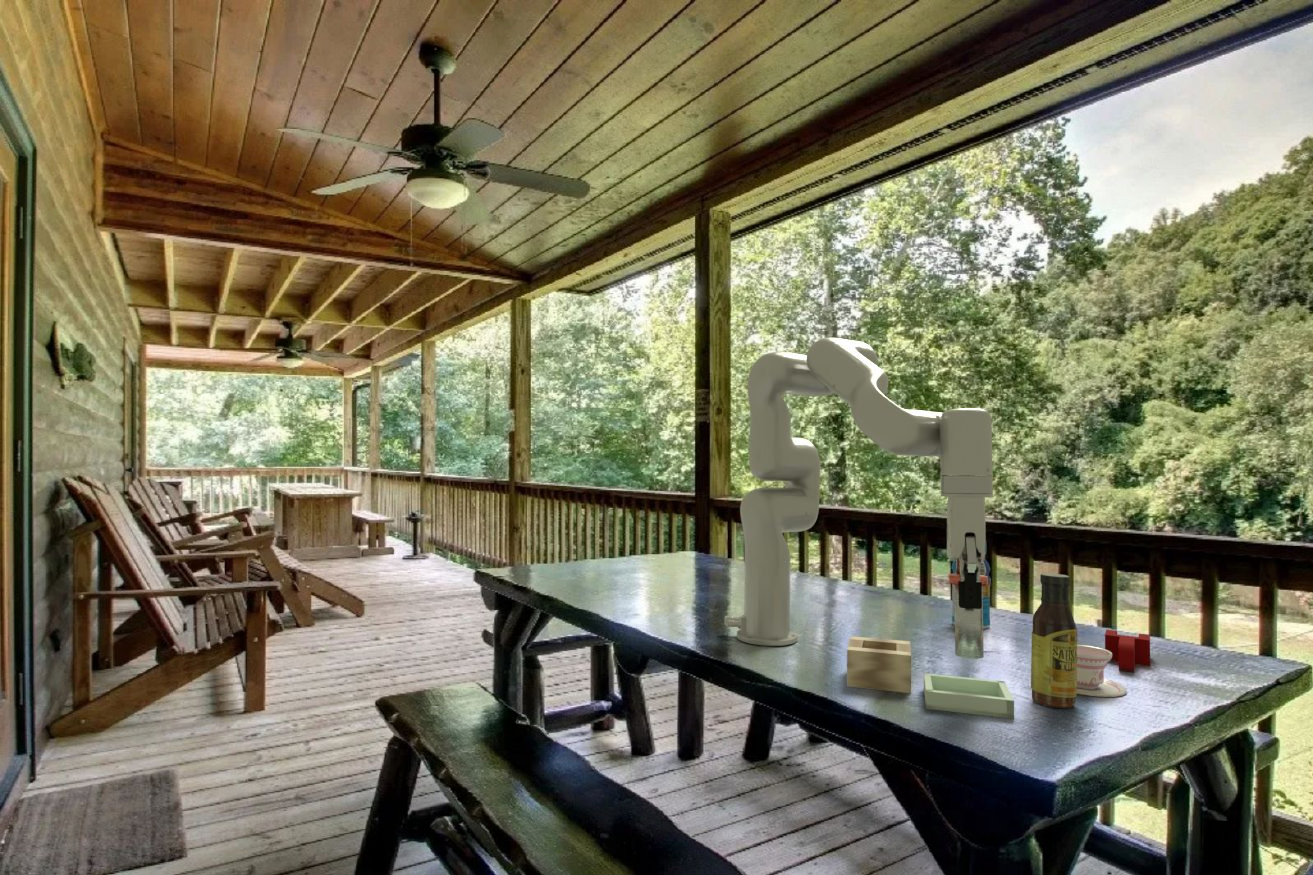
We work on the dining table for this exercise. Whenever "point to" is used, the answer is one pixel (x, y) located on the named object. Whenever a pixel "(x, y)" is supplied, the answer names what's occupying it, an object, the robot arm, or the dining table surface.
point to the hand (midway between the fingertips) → (968, 603)
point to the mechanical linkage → (1128, 649)
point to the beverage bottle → (985, 592)
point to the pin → (968, 624)
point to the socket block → (879, 664)
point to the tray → (968, 695)
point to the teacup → (1095, 673)
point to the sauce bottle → (1054, 646)
